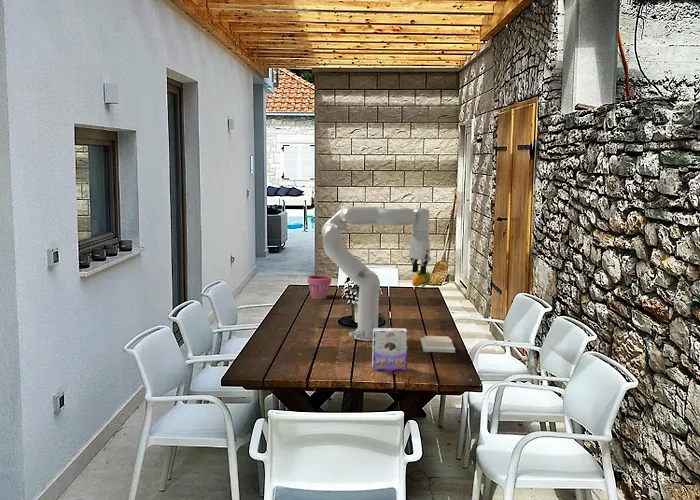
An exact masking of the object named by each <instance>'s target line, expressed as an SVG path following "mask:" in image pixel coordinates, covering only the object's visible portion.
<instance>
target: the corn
mask: <svg viewBox="0 0 700 500" xmlns="http://www.w3.org/2000/svg"><path fill="white" fill-rule="evenodd" d="M431 279H432V277H431V274H430V273H429V271H426V274H420V269H418V271H417V272H415V275H414V276H413V277H412V279H411V280H412V281H411V283H412V286H414V287H415V288H417V287H420V286H421V288H424V287H426V286H428V285H429V284H430V281H431Z"/></svg>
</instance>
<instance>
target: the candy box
mask: <svg viewBox="0 0 700 500" xmlns="http://www.w3.org/2000/svg"><path fill="white" fill-rule="evenodd" d="M408 334H409V333H408V329H407V328H406V327H404V328H402V327H401V328H400V327H397V328H396V327H392V328H390V327H378V328H373V341H372V354H371V355H372V357H371V358H372V359H371V368H372V371H407V370H408V364H407V363H408Z"/></svg>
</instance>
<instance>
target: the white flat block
mask: <svg viewBox="0 0 700 500" xmlns="http://www.w3.org/2000/svg"><path fill="white" fill-rule="evenodd" d="M420 343H421V347H422V352H424V353H432V352H433V353H452V354H453V353H454V354H455V353H456V348H455V346H454V343H453V341H452V339H451V338H450V336H447V335H446V336H439V335H438V336H437V335H424V337H421V338H420Z"/></svg>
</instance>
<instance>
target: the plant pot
mask: <svg viewBox="0 0 700 500" xmlns="http://www.w3.org/2000/svg"><path fill="white" fill-rule="evenodd" d="M307 284H308V287H309V292H310V297H311V299H313V300H325V299H327V296H328V293H329V288H330V284H332V277H331V276H329V275H323V274H322V275H319V274H317V275H314V274H313V275H308V276H307Z"/></svg>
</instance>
